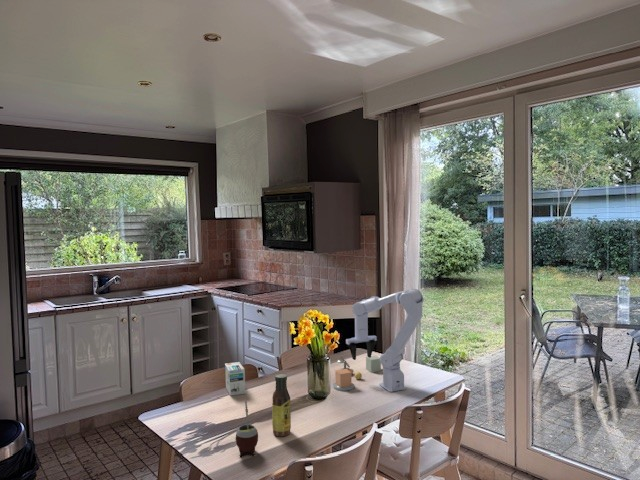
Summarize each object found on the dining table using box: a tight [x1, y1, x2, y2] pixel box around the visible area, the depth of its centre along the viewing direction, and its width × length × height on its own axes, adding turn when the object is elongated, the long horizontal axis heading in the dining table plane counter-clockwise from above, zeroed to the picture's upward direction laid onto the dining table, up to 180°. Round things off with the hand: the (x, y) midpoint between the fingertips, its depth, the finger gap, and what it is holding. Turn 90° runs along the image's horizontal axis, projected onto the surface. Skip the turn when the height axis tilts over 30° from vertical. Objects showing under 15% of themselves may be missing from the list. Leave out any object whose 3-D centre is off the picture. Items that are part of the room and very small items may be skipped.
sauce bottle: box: [271, 373, 292, 437], centre depth 159 cm, size 6×6×20 cm
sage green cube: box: [365, 355, 382, 373], centre depth 222 cm, size 5×5×6 cm
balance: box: [336, 356, 354, 373], centre depth 221 cm, size 13×4×6 cm, turn 22°
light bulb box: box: [224, 361, 246, 396], centre depth 199 cm, size 11×7×11 cm, turn 22°
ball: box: [354, 371, 363, 380], centre depth 210 cm, size 3×3×3 cm
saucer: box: [332, 382, 355, 392], centre depth 201 cm, size 9×9×1 cm
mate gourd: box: [235, 399, 259, 458], centre depth 147 cm, size 8×8×15 cm
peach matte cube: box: [334, 368, 352, 388], centre depth 201 cm, size 5×5×6 cm
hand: (361, 358), depth 209 cm, fingers open, 7 cm apart
